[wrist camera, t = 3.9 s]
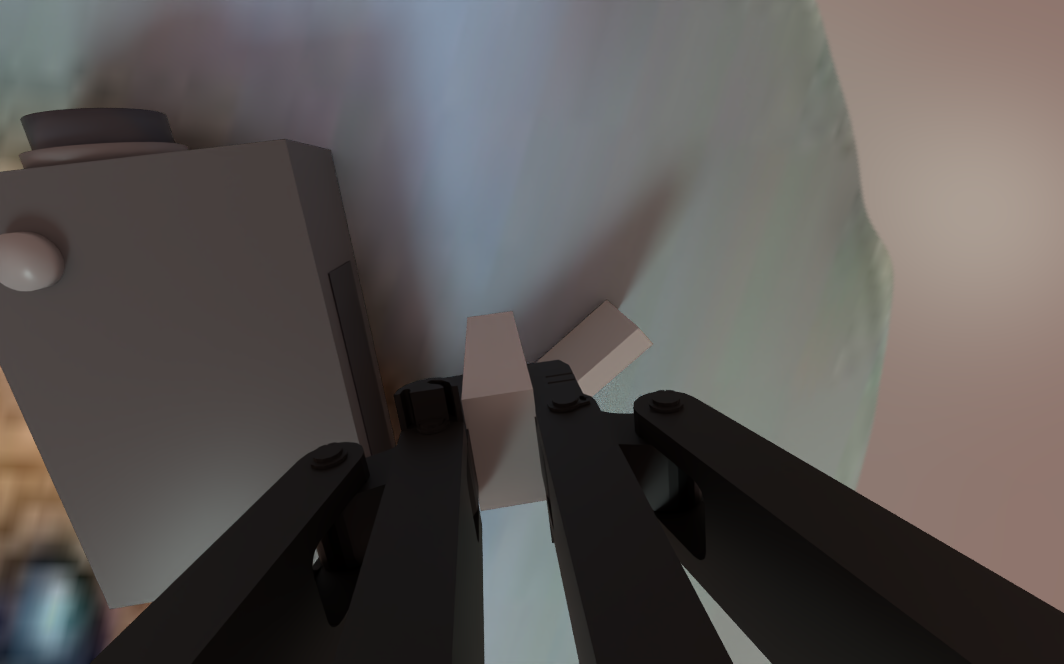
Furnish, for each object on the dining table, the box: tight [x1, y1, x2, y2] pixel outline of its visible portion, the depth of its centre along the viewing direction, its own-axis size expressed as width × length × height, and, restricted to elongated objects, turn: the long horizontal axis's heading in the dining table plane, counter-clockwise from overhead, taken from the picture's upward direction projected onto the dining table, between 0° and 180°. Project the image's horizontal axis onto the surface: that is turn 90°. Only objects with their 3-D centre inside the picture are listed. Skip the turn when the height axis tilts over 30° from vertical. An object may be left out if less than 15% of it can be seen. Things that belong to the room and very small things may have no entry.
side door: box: [536, 300, 653, 397], centre depth 25 cm, size 15×1×6 cm, turn 132°
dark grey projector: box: [0, 108, 396, 609], centre depth 22 cm, size 20×12×7 cm, turn 7°
